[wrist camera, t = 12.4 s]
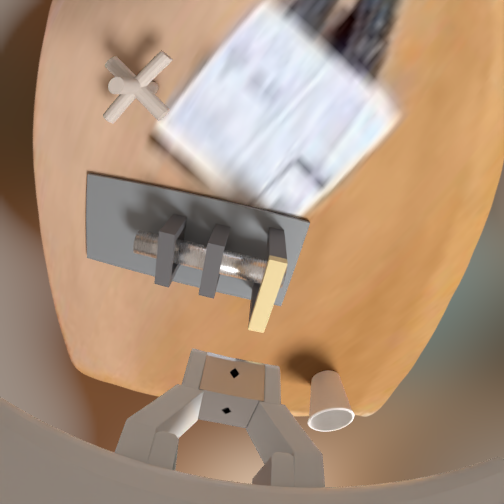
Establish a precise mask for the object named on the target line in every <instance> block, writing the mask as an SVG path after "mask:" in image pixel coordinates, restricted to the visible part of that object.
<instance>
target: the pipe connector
mask: <svg viewBox="0 0 504 504" xmlns="http://www.w3.org/2000/svg"><path fill="white" fill-rule="evenodd" d="M171 61H172V59H171V58H170V57H169V56H168V55H167V54H166V53H165V52H163V51H160V52H159V53H158V54H157V55H156V56H155V57H154V58H153V59H152V60H151V61H150V62H149V63H148V64H147V65H146V66H145V67H144V68H143V69H142V70H141V72H140V73H139V74H138V75H137V76H136V75H135V74H134V73H133V72H132V71H131V70H130V69H129V68H128V67H127V66H126V65H125V64H124V63H123V62H122V61H121V60H120V59H119V58H118V57H117V56H114V57H112V58H110V59H109V60H108V61H107V62H106V64H105V67H106V68H107V69H108V70H109V71H110V72H111V73H112V74H113V75H114V76H115V77H114V78H112V79H111V80H110V82H109V84H108V89H109V91H110V93H112V94H120V95H119V96H118V97H117V98H116V99H115V101H114V102H113V103H112V104H111V105H110V107H109V108H108V109H107V110H106V112H105V113H104V114H103V117H104V118H105V119H106V120H107V121H108V122H110V123H114V122H115V121H116V120H117V119H118V118H119V117H120V115H121V114H122V113H123V112H124V111H125V110H126V108H127V107H128V106H129V105H130V104H131V103H132V102H133V100H134V99H135V98H136V99H137V100H138V101H139V102H140V103H141V104H142V105H143V106H144V107H145V108H146V109H147V110H148V111H149V112H150V113H151V114H152V115H153V116H154V117H155V118H156V119H157V120H158V121H159V120H161V119H162V118H164V117H165V116H166V115H167V114H168V112H169V111H170V109H169V108H168V107H167V106H166V105H165V104H164V103H163V102H162V101H161V100H160V99H159V98H158V97H157V96H156V95H155V93H156V92H157V91H158V84H157V83H156V82H153V81H152V80H153V79H154V78H155V77H156V76H157V75H158V74H159V73H160V72H161V71H162V70H163V69H164V68H165V67H166V66H167V65H168V64H169V63H170V62H171Z"/></svg>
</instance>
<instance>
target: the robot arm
mask: <svg viewBox="0 0 504 504" xmlns="http://www.w3.org/2000/svg"><path fill="white" fill-rule="evenodd" d="M198 419H200V420H206V421H211V422H217V423H223V424H227V425H232V426H237V427H243V428H246V430H247V432H248V434H249V436H250V438H251V440H252V442H253V444H254V445H255V447H256V449H257V451H258V453H259V455H260V457H261V458H262V460H263V462H264V464H265V465H264V466H263V467H262V468H261V469H260V471H259V472H258V473H257V474H256V475H255V477H254V478H253V481H252V484H246V483H238V482H231V481H224V480H218V479H212V478H206V477H201V476H196V475H191V474H187V473H182V472H178V471H175V468H176V460H177V450H178V441H179V439H178V438H179V437H180V436H181V435H182V434H183V433H184V432H186V431H187V430H188V429H189V428H190V427H191V426H192V425H193V424H194V423H195V422H196V421H197V420H198ZM0 504H504V459H503V458H501V457H496V458H492V459H490V460H487V461H484V462H481V463H478V464H474V465H471V466H468V467H464V468H460V469H457V470H453V471H449V472H445V473H441V474H437V475H432V476H427V477H422V478H417V479H411V480H406V481H399V482H392V483H384V484H375V485H364V486H351V487H325V484H324V469H323V457H322V453H321V452H320V451H319V449H318V448H317V447H316V446H315V444H314V443H313V442H312V440H311V439H310V438H309V436H308V435H307V434H306V433H305V431H304V430H303V429H302V427H301V426H300V425H299V423H298V422H297V421H296V419H295V418H294V417H293V415H292V414H291V413H290V411H289V410H288V408H287V407H286V406H285V405H282V404H281V390H280V368H279V366H274V365H268V364H263V363H257V362H252V361H246V360H241V359H234V358H230V357H226V356H222V355H217V354H213V353H209V352H205V351H201V350H197V349H192V351H191V353H190V357H189V360H188V364H187V368H186V371H185V375H184V378H183V382H182V385H179V384H177V385H175V386H174V387H173V388H171V389H170V390H168V391H167V392H166V393H164V394H163V395H161V396H160V397H159V398H157V399H156V400H154V401H153V402H151V403H150V404H148V405H147V406H146V407H144V408H143V409H141V410H140V411H138V412H137V413H135V414H134V415H132V416H131V417H130V418H128V419H127V420H126V423H125V426H124V428H123V431H122V434H121V436H120V439H119V442H118V445H117V448H116V450H115V453H114V452H111V451H108V450H106V449H103V448H100V447H98V446H95V445H93V444H90V443H88V442H85V441H83V440H81V439H78V438H76V437H74V436H72V435H69V434H67V433H65V432H63V431H61V430H59V429H57V428H55V427H53V426H50V425H48V424H46V423H45V422H43V421H41V420H39V419H37V418H35V417H33V416H32V415H30V414H28V413H26V412H24V411H23V410H21V409H19V408H18V407H16V406H14V405H12V404H11V403H9V402H8V401H6V400H5V399H3V398H1V397H0Z"/></svg>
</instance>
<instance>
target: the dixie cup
mask: <svg viewBox="0 0 504 504" xmlns="http://www.w3.org/2000/svg"><path fill="white" fill-rule="evenodd" d="M353 419H354V412H353V411H352V410H351V407H350V404H349V401H348V398H347V396H346V393H345V390H344V387H343V384H342V382H341V379H340V376H339V374H338V373H337V372H335V371H330V370H327V371H322V372H319V373H317V374H315V375H314V376H313V378H312V380H311V397H310V412H309V419H308V425H309V427H310V428H312V429H314V430H317V431H334V430H337V429H341V428H343V427H345V426H347V425H348V424H349V423H351V422H352V420H353Z"/></svg>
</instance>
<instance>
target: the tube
mask: <svg viewBox="0 0 504 504" xmlns="http://www.w3.org/2000/svg"><path fill="white" fill-rule="evenodd" d="M158 237H159V234H155V233H151V232H147V231H142V230H139V231H138V232H137V234H136V236H135V239H134V244H133V251H134V253H136V254H140V255H144V256H148V257H152V258H157V247H158ZM206 250H207V246H206V245H201V244H197V243H193V242H189V241H184V240H180V239H177V240H176V242H175V250H174V258H173V263H176V264H180V265H184V266H188V267H192V268H196V269H200V270H203V266H204V261H205V255H206ZM266 265H267V260H265V259H261V258H257V257H252V256H248V255H244V254H240V253H235V252H231V251H227V250H224V253H223V258H222V262H221V267H220V272H219V274H221V275H226V276H230V277H234V278H238V279H243V280H247V281H251V282H256V283H260V284H261V282H262V279H263V275H264V272H265V269H266ZM286 271H287V267H286V270H285V273H284V276H283V279H282V282H281V285H280V288H282V286H283V284H284V280H285V277H286Z"/></svg>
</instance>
